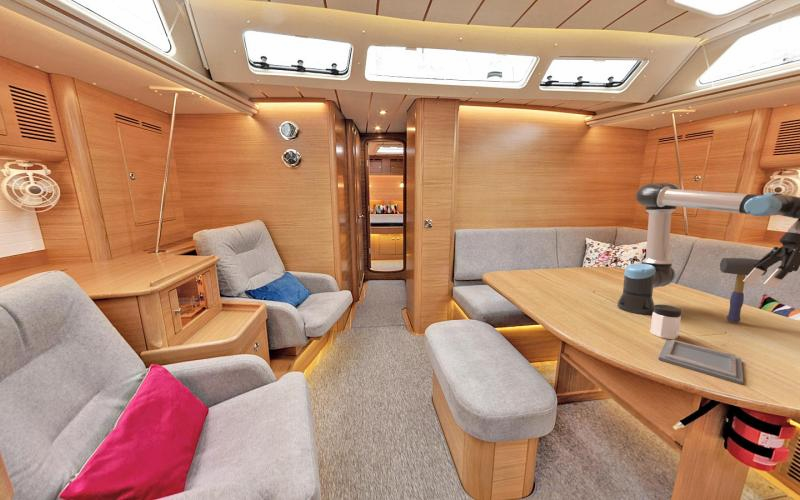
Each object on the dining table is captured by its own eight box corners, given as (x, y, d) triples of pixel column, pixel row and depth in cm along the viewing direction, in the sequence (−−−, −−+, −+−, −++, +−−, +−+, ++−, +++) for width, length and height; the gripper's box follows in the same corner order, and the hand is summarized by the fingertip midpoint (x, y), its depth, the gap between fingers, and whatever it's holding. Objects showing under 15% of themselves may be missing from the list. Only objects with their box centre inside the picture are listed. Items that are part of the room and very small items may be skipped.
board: (658, 359, 99) (658, 357, 99) (666, 341, 111) (666, 339, 111) (742, 384, 84) (743, 381, 84) (740, 361, 97) (741, 358, 96)
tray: (665, 357, 98) (665, 354, 98) (671, 342, 109) (671, 339, 108) (735, 377, 86) (736, 373, 86) (734, 358, 97) (735, 355, 96)
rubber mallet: (716, 322, 127) (726, 258, 122) (710, 316, 133) (720, 255, 128) (758, 328, 120) (770, 261, 115) (749, 322, 126) (761, 258, 122)
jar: (674, 341, 111) (678, 313, 109) (647, 334, 118) (651, 307, 116) (680, 335, 116) (684, 308, 114) (654, 328, 123) (658, 302, 121)
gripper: (847, 239, 88) (794, 293, 94) (791, 243, 110) (751, 287, 115) (814, 228, 92) (765, 281, 97) (766, 234, 113) (728, 277, 118)
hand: (757, 284), depth 106 cm, fingers open, 13 cm apart
